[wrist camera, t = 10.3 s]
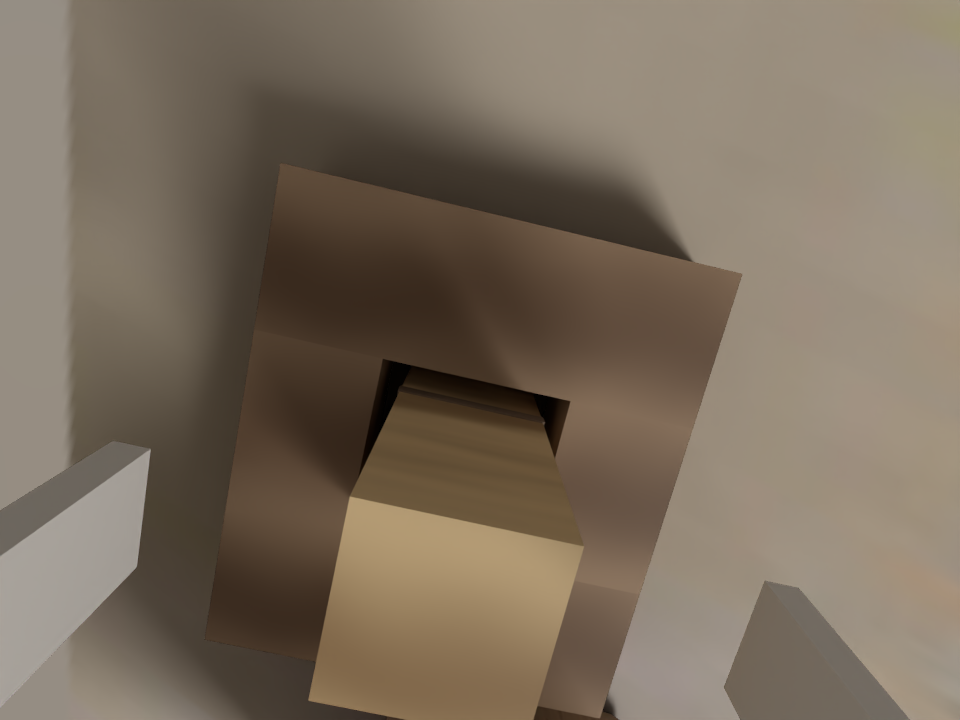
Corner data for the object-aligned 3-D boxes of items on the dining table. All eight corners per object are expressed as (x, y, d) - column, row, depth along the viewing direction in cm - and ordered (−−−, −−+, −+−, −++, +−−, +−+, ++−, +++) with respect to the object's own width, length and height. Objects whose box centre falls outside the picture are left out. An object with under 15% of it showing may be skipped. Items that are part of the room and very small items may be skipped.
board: (316, 174, 22) (280, 162, 18) (696, 265, 22) (742, 274, 19) (247, 574, 25) (204, 639, 21) (581, 643, 26) (600, 718, 22)
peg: (413, 358, 23) (347, 493, 11) (532, 385, 23) (587, 544, 12) (389, 471, 24) (305, 702, 12) (503, 495, 24) (528, 745, 13)
